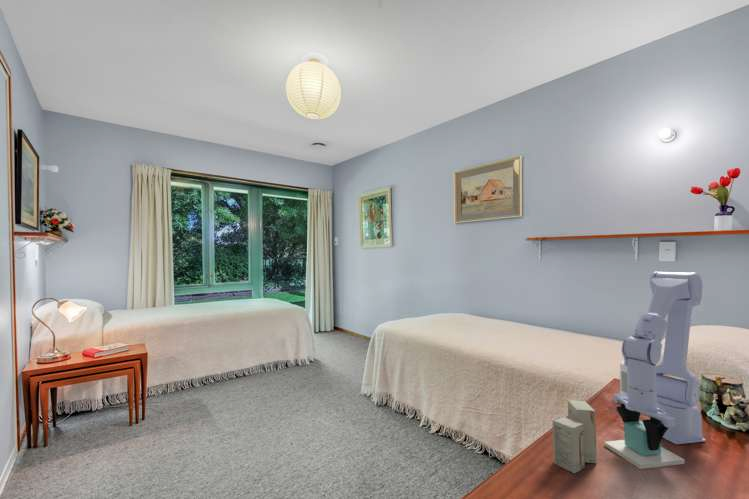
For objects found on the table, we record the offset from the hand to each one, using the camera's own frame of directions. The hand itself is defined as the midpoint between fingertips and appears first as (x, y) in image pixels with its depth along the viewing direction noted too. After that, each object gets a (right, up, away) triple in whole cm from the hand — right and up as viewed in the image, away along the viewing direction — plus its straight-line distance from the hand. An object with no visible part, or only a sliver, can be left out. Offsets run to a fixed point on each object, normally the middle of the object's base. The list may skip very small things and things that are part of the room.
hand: (642, 443), depth 86 cm
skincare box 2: (-15, -3, -1) cm, 15 cm away
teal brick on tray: (0, -1, 0) cm, 1 cm away
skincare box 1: (-21, -3, -4) cm, 21 cm away
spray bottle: (+23, -3, +34) cm, 41 cm away
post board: (0, -3, 0) cm, 3 cm away
